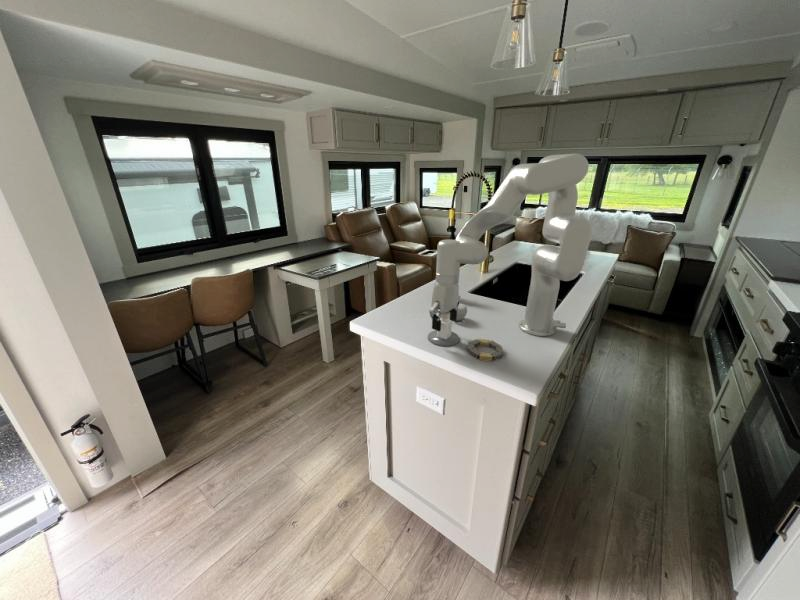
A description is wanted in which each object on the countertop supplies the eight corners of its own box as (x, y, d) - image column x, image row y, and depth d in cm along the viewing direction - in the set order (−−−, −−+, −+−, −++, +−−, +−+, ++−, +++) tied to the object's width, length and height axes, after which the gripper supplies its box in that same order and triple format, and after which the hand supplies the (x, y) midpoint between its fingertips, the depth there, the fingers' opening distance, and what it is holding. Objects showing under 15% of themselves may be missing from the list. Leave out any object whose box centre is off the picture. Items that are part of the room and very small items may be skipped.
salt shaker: (441, 333, 114) (443, 309, 110) (451, 336, 112) (453, 311, 108) (436, 337, 111) (437, 312, 107) (446, 340, 109) (447, 315, 105)
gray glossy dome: (459, 332, 116) (459, 331, 115) (458, 347, 106) (458, 346, 105) (429, 329, 118) (429, 328, 117) (425, 344, 108) (426, 342, 107)
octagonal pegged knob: (466, 316, 129) (468, 301, 127) (466, 324, 122) (467, 309, 119) (447, 314, 131) (448, 299, 128) (445, 322, 124) (446, 307, 121)
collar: (500, 344, 108) (501, 341, 107) (503, 362, 98) (504, 358, 97) (467, 341, 110) (468, 337, 109) (467, 358, 100) (468, 354, 99)
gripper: (452, 270, 111) (448, 314, 118) (422, 282, 99) (420, 330, 106) (470, 274, 107) (466, 320, 113) (441, 287, 95) (438, 337, 101)
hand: (444, 324), depth 110 cm, fingers open, 9 cm apart
